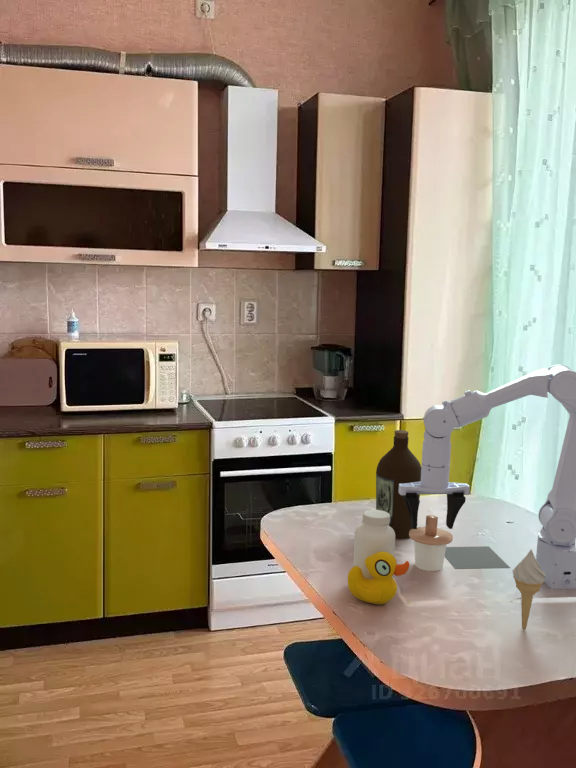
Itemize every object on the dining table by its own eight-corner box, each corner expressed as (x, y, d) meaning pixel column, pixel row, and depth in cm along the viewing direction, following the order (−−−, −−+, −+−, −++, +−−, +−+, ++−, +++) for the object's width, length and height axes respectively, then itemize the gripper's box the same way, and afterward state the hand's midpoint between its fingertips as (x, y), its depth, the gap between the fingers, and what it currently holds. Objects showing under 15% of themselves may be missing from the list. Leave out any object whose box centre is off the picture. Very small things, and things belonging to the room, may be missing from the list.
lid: (458, 544, 153) (460, 524, 153) (415, 545, 152) (417, 524, 152) (444, 529, 162) (445, 509, 162) (403, 529, 161) (405, 510, 160)
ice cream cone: (501, 628, 133) (508, 548, 131) (517, 619, 137) (524, 540, 134) (530, 640, 129) (538, 557, 127) (546, 630, 133) (554, 549, 131)
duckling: (408, 600, 143) (411, 550, 141) (405, 613, 138) (408, 561, 136) (349, 592, 146) (351, 543, 144) (344, 604, 141) (346, 553, 139)
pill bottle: (395, 581, 152) (399, 509, 149) (389, 597, 144) (393, 522, 142) (356, 575, 154) (359, 505, 151) (348, 591, 146) (352, 517, 144)
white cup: (443, 563, 161) (445, 532, 160) (447, 576, 155) (449, 544, 154) (411, 561, 162) (413, 530, 161) (413, 574, 155) (415, 542, 154)
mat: (510, 571, 158) (510, 567, 158) (454, 572, 157) (455, 568, 157) (488, 549, 170) (488, 546, 170) (437, 550, 169) (437, 547, 169)
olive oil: (401, 524, 185) (407, 425, 181) (427, 539, 175) (434, 434, 171) (364, 530, 180) (369, 428, 176) (389, 545, 171) (395, 438, 167)
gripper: (463, 459, 160) (458, 520, 162) (396, 459, 158) (392, 521, 160) (475, 468, 153) (470, 532, 155) (405, 468, 151) (401, 532, 153)
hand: (431, 527), depth 157 cm, fingers open, 7 cm apart
